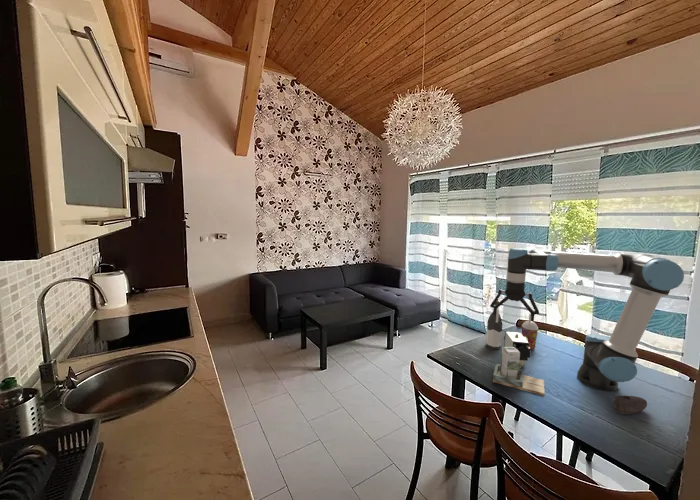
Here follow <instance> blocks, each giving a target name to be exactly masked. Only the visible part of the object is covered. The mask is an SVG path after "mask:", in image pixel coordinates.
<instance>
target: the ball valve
mask: <svg viewBox="0 0 700 500" xmlns="http://www.w3.org/2000/svg"><path fill="white" fill-rule="evenodd" d="M503 340H504V343H503V344H504V345H503V347H515V348H516V349H517V350H518V351H519V352H520V359H519V369H520V370H521V368H522V367H525V366H526V361H527V362H528V359H530V358H531V349H530V348H529V343H528V339H526V337H523V336H522V332H519V331H507V330H505V332H504V338H503Z"/></svg>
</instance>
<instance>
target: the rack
mask: <svg viewBox="0 0 700 500" xmlns="http://www.w3.org/2000/svg"><path fill="white" fill-rule="evenodd" d="M500 370H501V363H500V364H499V363H495V367H494V370H493V374H492V375H493V376H492V383H496V384H499V385H503V386H506V387H510V388H514V389H518V390H522V391H525V392H529V393H531V394H535V395H540V396H543V397H545V392H546V390H545V380H544V379H541V378H537V377H533V376H529V375H524V374H525V370H523V369H521V368H520V369H518V379H517V380H516V379H512V378H508V377H504V376H502V375H501V374H500Z"/></svg>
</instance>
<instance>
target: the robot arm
mask: <svg viewBox="0 0 700 500" xmlns="http://www.w3.org/2000/svg"><path fill="white" fill-rule="evenodd" d="M507 256H508V257H507V272H506V287H505V289H502V288H498V289H499V290H498V293H497V294H496V296H495V297H494V299H493V301H492V302H491V304H490V305H489V307H490V308H492V309H493V310H494V315H496V323H498V315H500V313H499V312H500V311H499V310H500V307H501V306H502V305H503V304H504V303H506V302H507V301H508V300H509V301H513V302H514V301H515V302H520V303H521V304H522V305H523V306H524V307H525V309H527V311H528V312H529V315H528V321H529V326H528V328H530V325H531V321H533V322H534V320H535V316H536V315H540V310H539V308H538V307H537V305H536V303H535V301H534V298H533V293H532V292H531V291H530V292H526V291H525V289H526V287H525V286H526V273H527V270H530V271H531V270H532V271H533V270H534V271H547V272H556V271H557V270H558V268H562V269H572V270H573V269H574V270H583V271H585V270H586V271H597V272H605V273H612V274H613V275H615V276H623V277H628V278H630V279H631V280H630V282H629V286H630V288H631V291H630V293H629V296H628V297H627V298H628V299H627V300H626V303H625V304H624V307H623V308H622V311H621V314H620V316H619V317H618V320H617V323H616V324H615V326H614V329H613V331H612V333H611V334H610V336H607V335H603V334H596V333H595V334H594V333H593V334H587V335H586V337H585V340H584V350H583V351H584V352H583V361H582V363H581V365H580V367H579V369H578V370H577V372H576V373H577V374H576V378H577V380H578V381H579V382H581V383H582V384H583V385H586V386H588V387H589V388H593V389H596V390H599V391H603V392H615V391H617V390H618V387H619V383H624V382H630V381H632V380H634V379H635V378H636V376H637V374H638V369H637V366H636V364H635V363H636V361H637V360H638V358H639V354H638V353H637V351H636V349H637V347H638V345H639V343H640V342H641V339H642V337H643V335H644V334H645V333H644V332H645V331H646V328H647V327H648V324H649V322H650V320H651V318H652V316H653V314H654V312H655V311H656V308H657V306H658V304H659V301H660V299H662V298H663V297H667V296H669V294H670V292H671V290H674V289H675V288H676V289H677V288H679V287H680V285H681V284H682V283H683V282H684V279H685V273H684V270H683V268H682V266H680V265H679V264H678V263H676V262H674V261H672V260H670V259H667V258H665V257H658V256H655V255H651V254H643V253H642V254H638V253H637V254H635V253H634V254H632V253H631V254H629V253H616V254H615V255H609V254H608V255H607V254H597V253H596V254H595V253H594V254H592V253H580V252H568V251H566V252H565V251H554V250H553V251H552V250H540V249H539V248H538V249H536V248H535V249H534V248H533V249H531V250H529V251H528V249H526V248H523V247H511V248H510V249H509V250H508V255H507ZM503 294H505V295H506V296H505V297H504V298H503V299H501V300H500V301H499V299H500V297H501V295H503ZM524 297H527V298H528V300H529V301H530V304H531V306H532V307H531V306H530V305H529V303H528V302H527V301H526V300H525V298H524ZM497 300H498V301H499V303H498V304H497V305H494V304H495V303H496V301H497ZM532 308H533V309H532Z"/></svg>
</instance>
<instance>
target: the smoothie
mask: <svg viewBox="0 0 700 500" xmlns="http://www.w3.org/2000/svg"><path fill="white" fill-rule="evenodd" d="M528 326H529V320H526V321H523V323H522V325H521V335H522V336H523V337H526V339H528V343H529V348H530V349H531V351H534V350H535V348H536V344H537V337H538V332H539V327H538V325H537V324H536V322H534V321H531V325H530V328H528ZM531 351H530V352H531Z"/></svg>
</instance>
